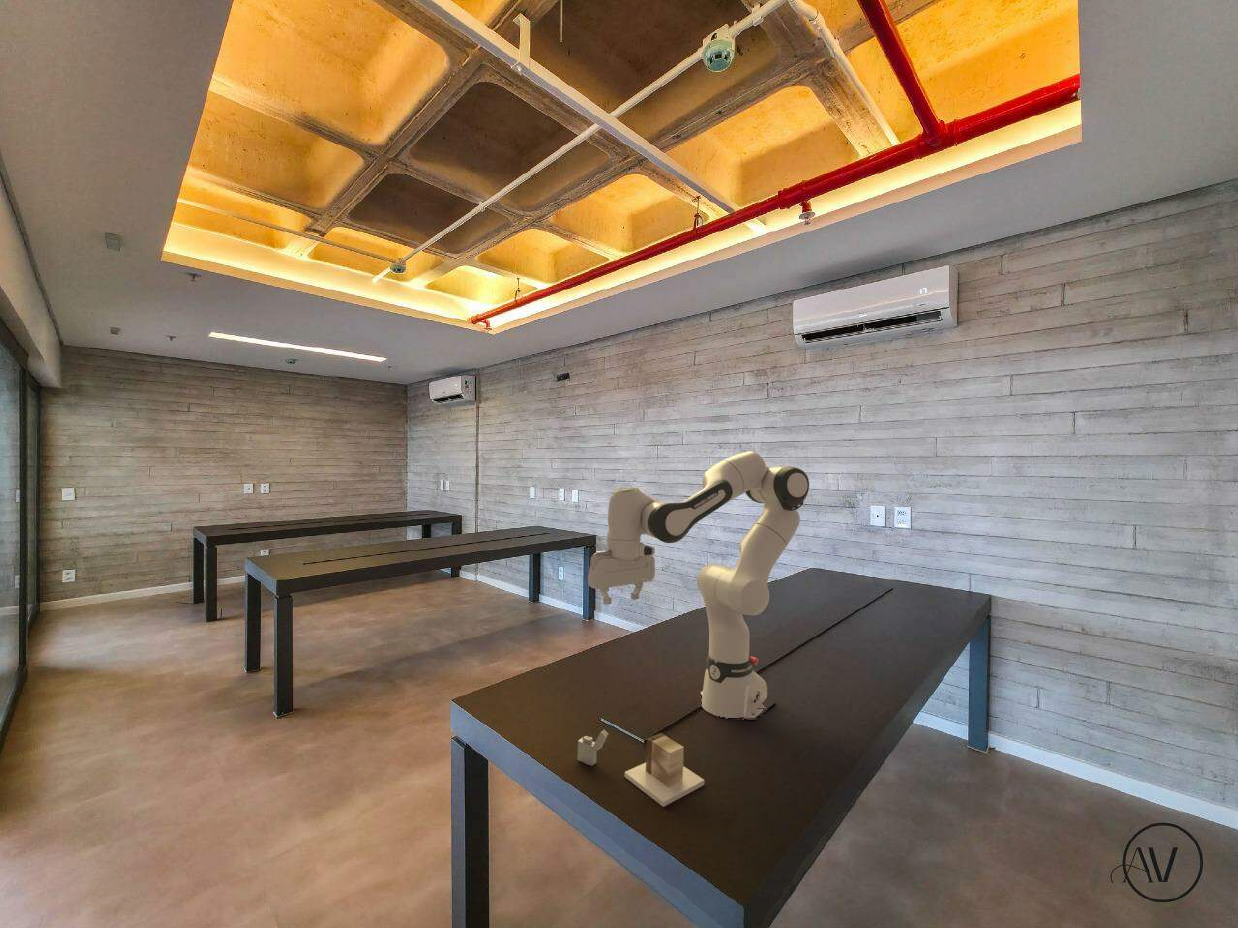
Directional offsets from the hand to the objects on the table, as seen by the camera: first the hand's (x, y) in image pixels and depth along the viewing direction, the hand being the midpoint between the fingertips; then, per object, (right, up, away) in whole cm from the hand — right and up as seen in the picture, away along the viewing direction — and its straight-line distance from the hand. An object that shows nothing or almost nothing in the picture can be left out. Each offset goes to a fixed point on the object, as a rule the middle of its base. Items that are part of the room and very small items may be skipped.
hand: (621, 601), depth 134 cm
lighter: (-7, -31, -20) cm, 38 cm away
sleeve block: (+9, -30, -25) cm, 40 cm away
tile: (+9, -31, -25) cm, 41 cm away
